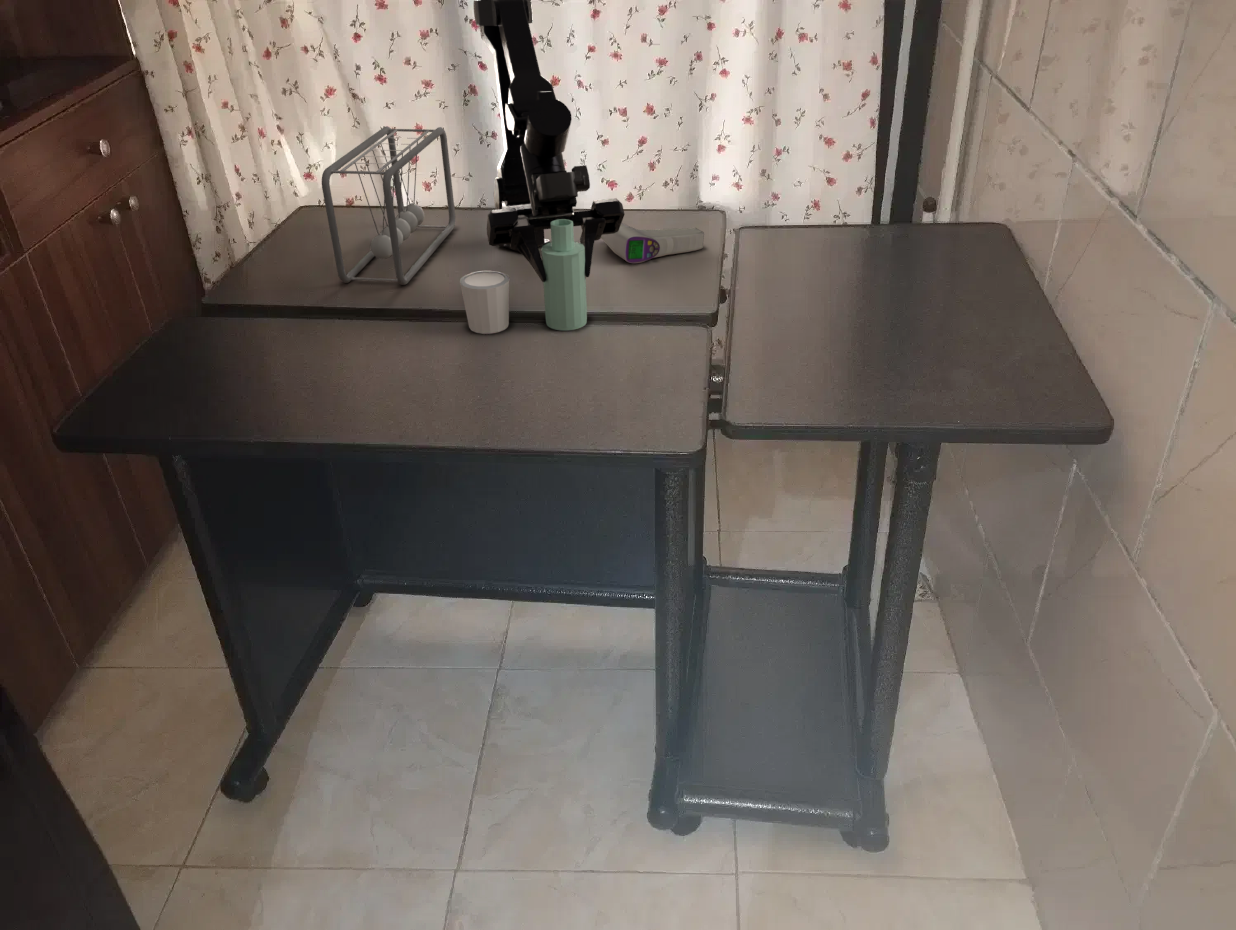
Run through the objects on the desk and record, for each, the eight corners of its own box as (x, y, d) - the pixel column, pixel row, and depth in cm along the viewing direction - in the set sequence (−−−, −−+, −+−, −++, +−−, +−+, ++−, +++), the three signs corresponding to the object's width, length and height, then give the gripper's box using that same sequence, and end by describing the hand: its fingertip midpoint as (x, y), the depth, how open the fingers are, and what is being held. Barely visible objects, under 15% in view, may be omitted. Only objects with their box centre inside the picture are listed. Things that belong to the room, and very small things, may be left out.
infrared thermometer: (706, 256, 160) (627, 266, 154) (669, 234, 169) (593, 243, 163) (708, 229, 158) (628, 238, 152) (671, 209, 167) (594, 217, 161)
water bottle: (538, 320, 137) (531, 221, 129) (571, 310, 140) (567, 213, 132) (561, 334, 133) (555, 232, 125) (594, 323, 136) (591, 223, 128)
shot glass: (504, 337, 132) (500, 289, 129) (457, 333, 134) (452, 286, 130) (519, 317, 138) (515, 271, 134) (473, 314, 139) (469, 268, 135)
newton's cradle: (403, 290, 147) (387, 173, 138) (339, 287, 149) (317, 172, 139) (457, 226, 172) (446, 124, 163) (401, 224, 174) (387, 123, 164)
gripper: (481, 150, 125) (502, 260, 122) (620, 139, 129) (642, 245, 126) (479, 193, 136) (497, 295, 132) (606, 181, 139) (627, 280, 136)
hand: (566, 278), depth 131 cm, fingers closed on water bottle, 6 cm apart
